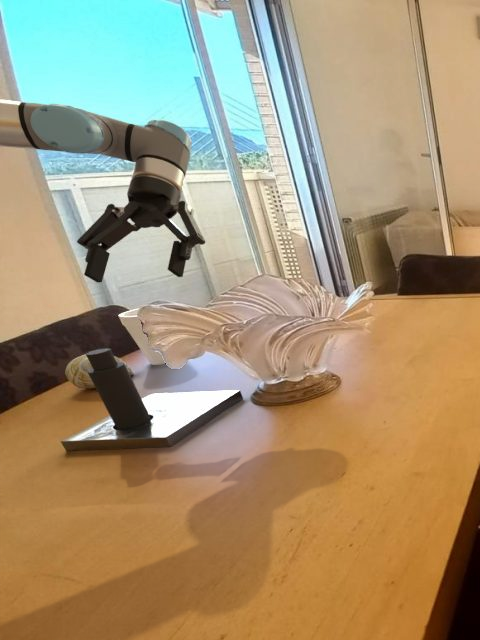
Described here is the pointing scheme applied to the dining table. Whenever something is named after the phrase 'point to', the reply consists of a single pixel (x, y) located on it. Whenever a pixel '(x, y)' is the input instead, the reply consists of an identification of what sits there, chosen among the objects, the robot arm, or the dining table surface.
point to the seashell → (84, 371)
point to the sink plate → (157, 422)
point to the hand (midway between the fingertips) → (134, 276)
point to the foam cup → (140, 336)
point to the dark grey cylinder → (116, 390)
